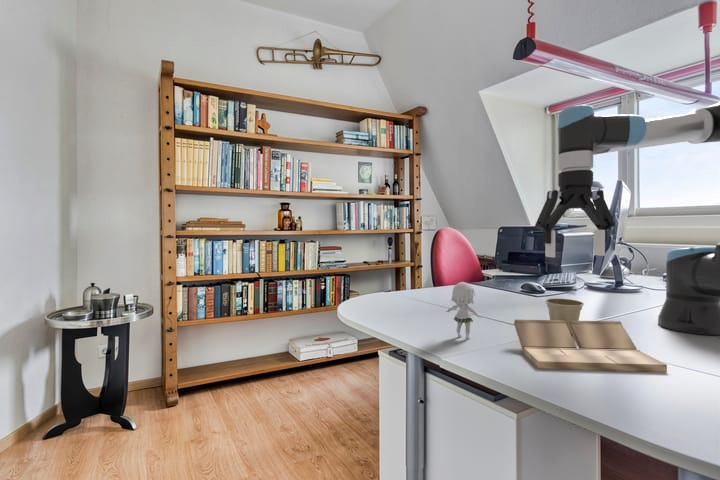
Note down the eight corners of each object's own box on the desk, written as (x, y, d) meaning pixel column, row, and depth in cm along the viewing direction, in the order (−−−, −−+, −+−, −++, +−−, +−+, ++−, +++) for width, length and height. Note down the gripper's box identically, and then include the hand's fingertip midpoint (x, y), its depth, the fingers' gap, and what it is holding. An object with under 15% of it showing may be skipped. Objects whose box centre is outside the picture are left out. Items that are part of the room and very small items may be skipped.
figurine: (486, 339, 98) (486, 282, 97) (475, 345, 93) (476, 285, 93) (450, 332, 105) (450, 279, 104) (439, 337, 100) (439, 281, 100)
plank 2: (580, 351, 87) (582, 347, 86) (567, 324, 93) (569, 320, 92) (634, 352, 86) (636, 348, 85) (618, 325, 92) (620, 321, 91)
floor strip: (638, 356, 85) (638, 349, 85) (666, 372, 76) (666, 364, 76) (523, 353, 87) (523, 347, 87) (538, 368, 78) (538, 360, 78)
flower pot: (589, 338, 99) (589, 305, 98) (550, 336, 101) (550, 304, 100) (576, 328, 108) (576, 298, 108) (541, 327, 110) (541, 297, 110)
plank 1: (522, 349, 88) (523, 345, 87) (513, 323, 95) (514, 319, 94) (574, 351, 87) (576, 347, 86) (562, 324, 93) (564, 320, 92)
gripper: (607, 173, 98) (607, 253, 99) (520, 172, 95) (520, 256, 95) (632, 168, 91) (631, 255, 92) (538, 168, 87) (538, 258, 88)
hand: (575, 256), depth 94 cm, fingers open, 13 cm apart
